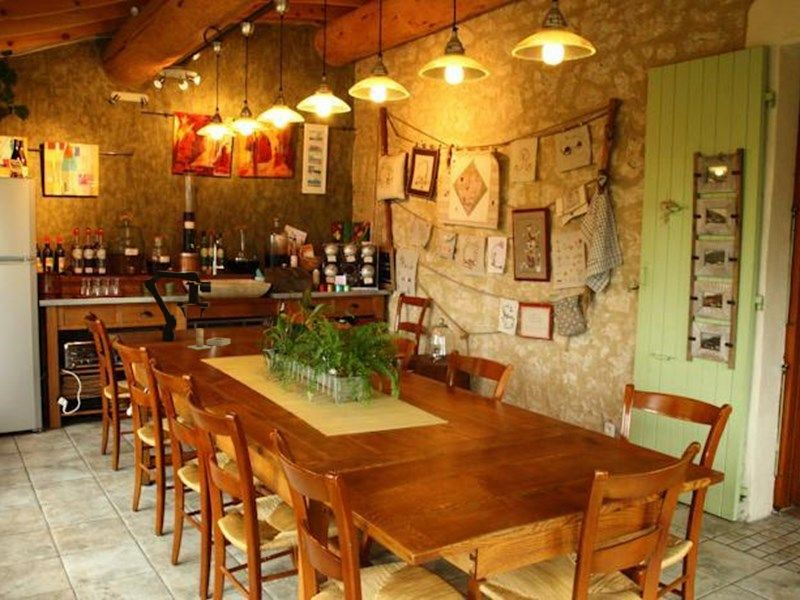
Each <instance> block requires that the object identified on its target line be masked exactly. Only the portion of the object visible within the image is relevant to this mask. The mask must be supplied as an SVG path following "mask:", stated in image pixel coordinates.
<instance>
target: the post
mask: <svg viewBox="0 0 800 600" xmlns="http://www.w3.org/2000/svg"><path fill="white" fill-rule="evenodd" d="M195 330H196V331H195V345H196V347H203V345H204V332H205V331H204V328H196V329H195Z"/></svg>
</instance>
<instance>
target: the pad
mask: <svg viewBox="0 0 800 600" xmlns="http://www.w3.org/2000/svg"><path fill="white" fill-rule="evenodd" d="M186 348H189V349H193V350H197V351H198V350H206V349H213V346H211V345H206V344H203V347H196V344H195V345H188V346H187V347H186Z"/></svg>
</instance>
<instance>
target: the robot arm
mask: <svg viewBox="0 0 800 600" xmlns="http://www.w3.org/2000/svg"><path fill="white" fill-rule="evenodd" d="M162 278H166V279H180V280H184V281H187V282H186V283H184V284H185V286H188V295H187V297H188V298H187V299H188V302H187V301H185V300H178V301H177V302H176V307H178V308H179V309H180V310H181V312H182V313H183V316H184V318H185V319H187V307H188V306H189V307H190V306H192V307H197V306H198V307H200V315H199V316H200V320H202V319H203V316H204V313H205V311H206V309H208V308H209V307H211V303H210V301H202V299H201V297H200V295H199V294H200V293H202V294H204V293H205V294H206V293H207V294H209V293H210V294H211V293H212V285H211V284H212V281H211V280H209V281H202V279H201V278H200V276H199V273H198V272H197V271H195V270H194V271H193V270H192V271H184V272H183V271H181V272H180V271H165V270H159V271H158V272H157V273H156V274H155V275H154V276H152V277H150V278H148V279H146V280H145V281H144V287H145V288H146V289H147V291H148V292H149V293H150V294H151V296H152V297H153V298H154V300H155V302H156V303H157V306H158V307H159V309H160V311H161V313H162V314H163V317H164V321H165V324H164V325H163V327H162V333H161V336H162V338H161V341H162V342H173V341H175V340H176V332H175V329H174V328H175V327H177V324H178V318H177V317H176V314H175V313H171V312H170V310H169V308H168V307H167V306H168V305H166V302H165V301H164V299H163V297H162V295H161V293H160V291H159V289H158V285H157V283H158V282H159V280H160V281H161V279H162ZM199 292H200V293H199Z"/></svg>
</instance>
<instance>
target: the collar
mask: <svg viewBox="0 0 800 600" xmlns="http://www.w3.org/2000/svg"><path fill="white" fill-rule="evenodd" d="M230 344H231V338H227V337H225V338H224V337H212V338H209V339H206V344H205V345H206V346H216V347H225V346H228V345H230Z"/></svg>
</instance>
